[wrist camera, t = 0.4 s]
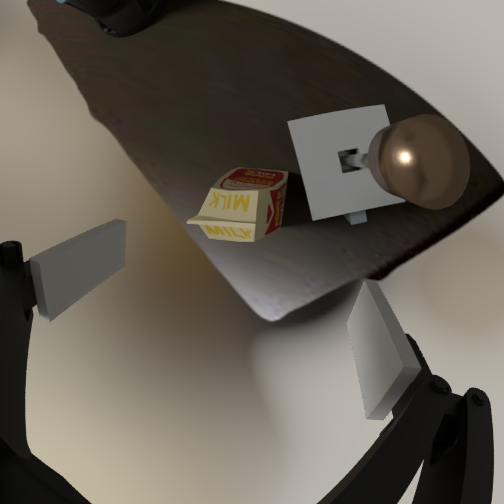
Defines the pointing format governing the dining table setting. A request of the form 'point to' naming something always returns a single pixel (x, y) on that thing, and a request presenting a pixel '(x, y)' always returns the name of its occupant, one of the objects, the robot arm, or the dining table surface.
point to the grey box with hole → (328, 165)
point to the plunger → (416, 161)
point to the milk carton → (244, 205)
